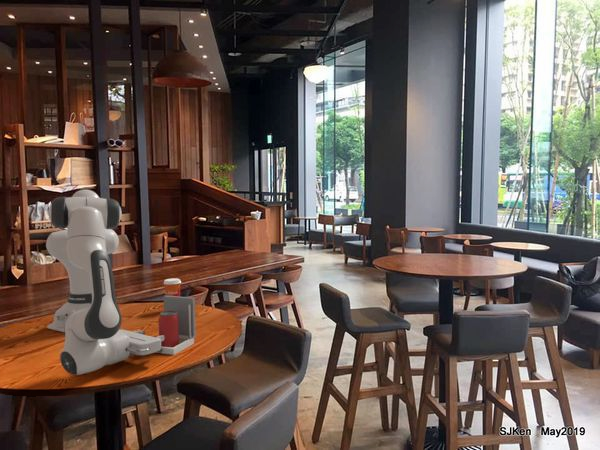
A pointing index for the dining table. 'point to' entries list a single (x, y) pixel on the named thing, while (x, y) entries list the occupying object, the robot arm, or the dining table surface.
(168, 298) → the case
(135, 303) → the dining table surface
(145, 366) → the dining table surface
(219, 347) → the dining table surface
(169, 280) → the paper cup
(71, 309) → the robot arm
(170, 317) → the beer can
